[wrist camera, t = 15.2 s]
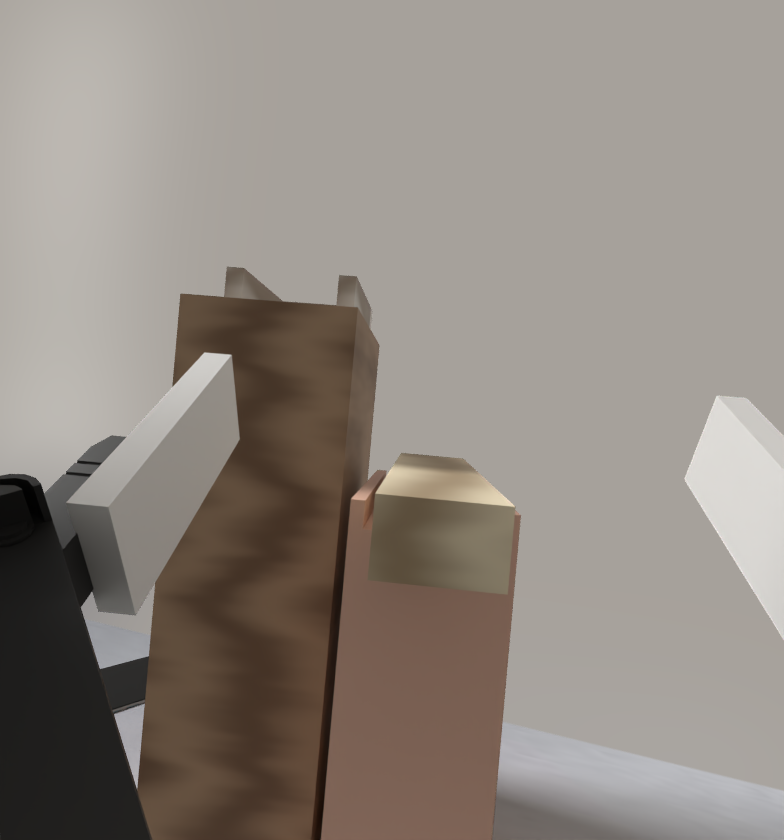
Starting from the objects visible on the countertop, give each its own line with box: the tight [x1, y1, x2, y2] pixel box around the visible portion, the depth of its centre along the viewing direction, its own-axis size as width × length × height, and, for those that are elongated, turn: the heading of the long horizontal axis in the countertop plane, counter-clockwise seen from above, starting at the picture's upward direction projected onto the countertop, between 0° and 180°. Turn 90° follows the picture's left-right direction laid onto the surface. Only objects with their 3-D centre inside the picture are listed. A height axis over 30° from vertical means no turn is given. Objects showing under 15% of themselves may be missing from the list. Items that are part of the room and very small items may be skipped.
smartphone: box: [100, 656, 149, 713], centre depth 49 cm, size 7×1×15 cm
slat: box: [368, 453, 515, 595], centre depth 26 cm, size 4×20×2 cm, turn 177°
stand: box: [137, 267, 379, 840], centre depth 35 cm, size 9×14×32 cm, turn 177°
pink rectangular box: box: [321, 470, 521, 840], centre depth 30 cm, size 7×14×21 cm, turn 177°
